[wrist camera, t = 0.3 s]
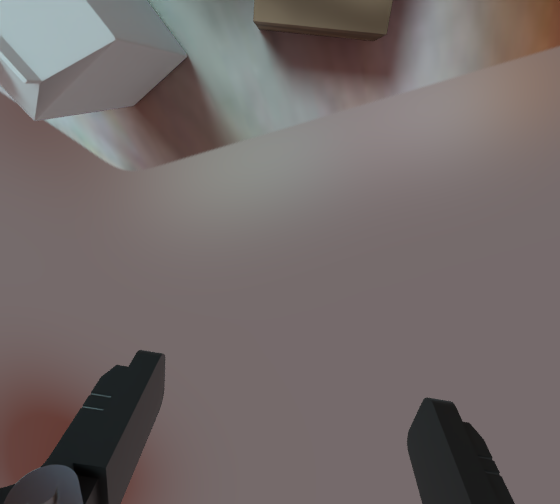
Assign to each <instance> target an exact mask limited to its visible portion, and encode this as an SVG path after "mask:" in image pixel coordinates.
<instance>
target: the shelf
mask: <svg viewBox="0 0 560 504" xmlns="http://www.w3.org/2000/svg"><path fill="white" fill-rule="evenodd" d="M392 2H393V0H254V18H253V21H254V23H255V24H256V25H257V27H258V28H259V29H260V30H270V31H280V32H290V33H300V34H310V35H320V36H330V37H340V38H350V39H360V40H370V41H375V40H377V39H378V38H380V37H382V36H384V35H386V34H387V29H388V24H389V18H390V13H391V7H392Z"/></svg>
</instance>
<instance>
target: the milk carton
mask: <svg viewBox="0 0 560 504" xmlns="http://www.w3.org/2000/svg"><path fill="white" fill-rule="evenodd" d="M186 57H187V54H186V52H185V51H184V49H183V48H182V47H181V45H180V44H179V43H178V41H177V40H176V39H175V37H174V36H173V35H172V33H171V32H170V30H169V29H168V28H167V26H166V25H165V24H164V22H163V21H162V20H161V18H160V17H159V16H158V14H157V13H156V12H155V10H154V9H153V8H152V6H151V5H150V4H149V2H148V1H147V0H0V85H1V86H2V88H3V89H4V90H5V91H6V92H7V93H8V94H9V95H10V96H11V97H12V98H13V99H14V100H15V101H16V102H17V103H18V105H19V106H20V107H21V108H22V109H23V110H24V111H25V112H26V113H27V114H28V115H29V116H30V117H31V118H32V119H33V120H34V121H36V120H45V119H51V118H58V117H65V116H71V115H78V114H84V113H91V112H98V111H104V110H111V109H117V108H124V107H131V106H134V105H135V104H136V103H137V102H138V101H139V100H141V99H142V98H143V97H144V96H145V95H146V94H147V93H148V92H149V91H150V90H152V89H153V88H154V87H155V86H156V85H157V84H158V83H159V82H160V81H161V80H162V79H164V78H165V77H166V76H167V75H168V74H169V73H170V72H171V71H172V70H173V69H174V68H176V67H177V66H178V65H179V64H180V63H181V62H182V61H183V60H184V59H185V58H186Z"/></svg>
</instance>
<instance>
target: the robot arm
mask: <svg viewBox="0 0 560 504" xmlns="http://www.w3.org/2000/svg"><path fill="white" fill-rule="evenodd" d="M164 379H165V355H164V354H161V353H155V352H149V351H142V350H139V351H138V352H137V353H136V355H135V357H134V358H133V360H132V362H131V363H130V365H129V367H126V366H120V365H116V366H115V367H113V368H112V369H111V370H110V371H108V372H107V373H106V374H104V375H103V376H102V377H101V378H100V380H99V381H98V383H97V384H96V386H95V387H94V389H93V390H92V392H91V395H90V396H88V398H87V400H86V401H85V403H84V404H83V407H82V408H81V409H80V410H79V412H78V413H77V415H76V416H75V418H74V419H73V421H72V423H71V424H70V426H69V427H68V429H67V430H66V432H65V433H64V435H63V436H62V438H61V440H60V441H59V443H58V444H57V446H56V447H55V449H54V450H53V452H52V453H51V455H50V456H49V458H48V459H47V461H46V462H45V463H44V464H43V465H42V466H41V467H40V468H38V469H36V470H34V471H32V472H30V473H28V474H27V475H25V476H24V477H23V478H21V479H20V480H19V481H18V482H17V483H16V484H13V485H10V486H8V487H4V488H0V504H120V503H121V501H122V499H123V496H124V494H125V491H126V489H127V487H128V484H129V482H130V479H131V477H132V475H133V472H134V470H135V467H136V465H137V463H138V460H139V458H140V456H141V453H142V451H143V448H144V446H145V443H146V441H147V439H148V436H149V434H150V432H151V429H152V427H153V424H154V422H155V420H156V417H157V415H158V413H159V410H160V407H161V404H162V400H163V394H164V381H165V380H164ZM407 446H408V452H409V456H410V460H411V463H412V467H413V471H414V474H415V478H416V482H417V485H418V489H419V493H420V496H421V500H422V504H515V503H514V502H513V499H512V497H511V495H510V493H509V491H508V489H507V487H506V485H505V483H504V481H503V479H502V477H501V476H500V475H499V473H500V472H499V470H498V468H497V466H496V464H495V462H494V461H492V456H491V454H490V452H489V450H488V448H487V446H486V443H485V441H484V439H482V437H481V436H480V435H479V434H478V432H477V431H476V430H475V429H474V428H473V427H472V426H471V424H470V423H467V422H462V419H461V417H460V415H459V413H458V410H457V408H456V406H455V405H454V404H453V402H451V401H444V400H438V399H432V398H425V399H424V400H423V402H422V404H421V406H420V408H419V410H418V412H417V414H416V416H415V419H414V421H413V423H412V425H411V427H410V429H409V432H408V438H407Z"/></svg>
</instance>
